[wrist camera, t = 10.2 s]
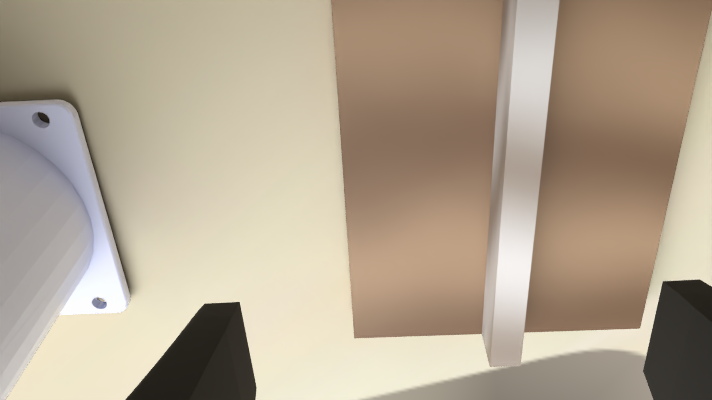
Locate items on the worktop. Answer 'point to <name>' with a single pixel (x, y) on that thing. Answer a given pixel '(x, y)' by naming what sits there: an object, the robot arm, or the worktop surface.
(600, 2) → the track
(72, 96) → the worktop surface
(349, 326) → the worktop surface
